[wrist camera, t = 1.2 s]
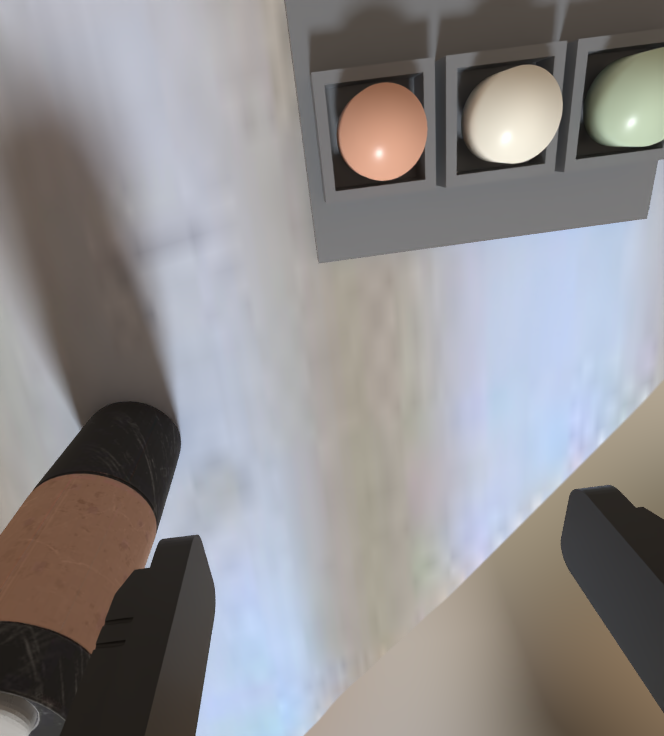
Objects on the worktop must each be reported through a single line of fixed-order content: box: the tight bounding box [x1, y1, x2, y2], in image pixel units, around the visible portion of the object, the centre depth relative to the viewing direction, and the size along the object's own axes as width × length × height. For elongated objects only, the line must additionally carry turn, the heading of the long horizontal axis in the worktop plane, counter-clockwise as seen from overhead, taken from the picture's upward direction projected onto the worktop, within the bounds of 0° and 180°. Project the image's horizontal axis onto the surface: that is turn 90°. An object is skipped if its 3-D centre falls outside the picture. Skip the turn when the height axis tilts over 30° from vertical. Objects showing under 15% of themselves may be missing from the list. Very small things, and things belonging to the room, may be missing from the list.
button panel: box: [284, 0, 664, 263], centre depth 26 cm, size 14×22×3 cm, turn 97°
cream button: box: [461, 65, 563, 164], centre depth 24 cm, size 4×4×2 cm
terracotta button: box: [336, 82, 427, 181], centre depth 24 cm, size 4×4×2 cm
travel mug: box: [0, 402, 181, 736], centre depth 26 cm, size 8×8×20 cm
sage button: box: [583, 47, 664, 147], centre depth 24 cm, size 4×4×2 cm
